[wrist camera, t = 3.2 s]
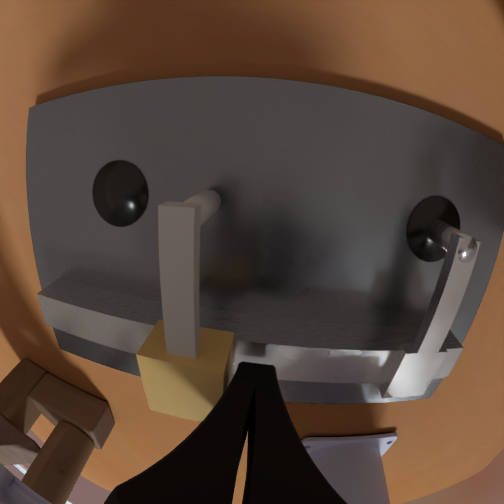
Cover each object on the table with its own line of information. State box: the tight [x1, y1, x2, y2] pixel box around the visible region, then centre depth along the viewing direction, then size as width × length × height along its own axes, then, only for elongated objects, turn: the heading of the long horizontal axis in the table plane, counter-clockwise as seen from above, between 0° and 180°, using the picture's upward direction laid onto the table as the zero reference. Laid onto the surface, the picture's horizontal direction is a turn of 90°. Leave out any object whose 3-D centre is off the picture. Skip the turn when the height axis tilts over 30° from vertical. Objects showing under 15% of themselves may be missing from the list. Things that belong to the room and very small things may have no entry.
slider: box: [136, 190, 234, 422], centre depth 10 cm, size 8×3×4 cm, turn 175°
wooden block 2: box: [0, 358, 115, 504], centre depth 10 cm, size 4×11×18 cm, turn 80°
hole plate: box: [26, 76, 504, 404], centre depth 11 cm, size 16×26×4 cm, turn 85°
